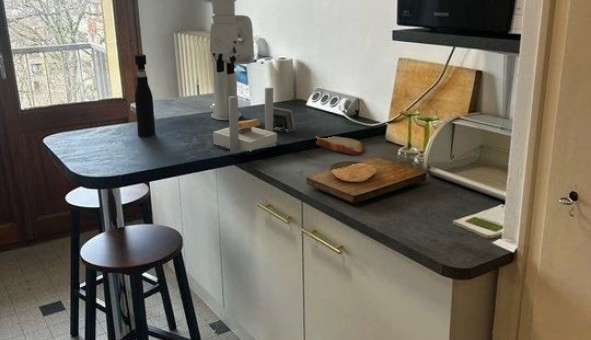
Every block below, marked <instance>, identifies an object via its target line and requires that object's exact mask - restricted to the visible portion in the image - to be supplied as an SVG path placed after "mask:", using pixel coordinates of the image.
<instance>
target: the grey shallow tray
mask: <svg viewBox="0 0 591 340" xmlns="http://www.w3.org/2000/svg"><path fill="white" fill-rule="evenodd" d="M238 134H239V149H242V150H247V151H250V152H251V151H252V150H254V149H257V148H260V147H263V146H266V145H269V144H271V143H274V142H276V141H277V142H278V133H277V132H275V131H273V132H271V131H267V130H265V129H263V128H258V127H256V126H255V127H251V128H243V129H238ZM212 136H213V138H212V140H213V145H214V144H216V145H221V146H226V147H230V129H229V127H225V128H222V129H219V130H216V131H213V132H212Z"/></svg>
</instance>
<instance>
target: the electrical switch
mask: <svg viewBox="0 0 591 340" xmlns="http://www.w3.org/2000/svg"><path fill="white" fill-rule="evenodd" d="M293 114H294V113H293V111H292V110H291V109H289V108H288V109H287V108H282V107H277V106H273V128H275V127H279V128H283V127H284V129H288V131H289V130H291V129H295V130H296V125H295V120H294V115H293Z"/></svg>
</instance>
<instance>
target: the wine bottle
mask: <svg viewBox="0 0 591 340" xmlns="http://www.w3.org/2000/svg"><path fill="white" fill-rule="evenodd" d="M134 62H135V63H134V64H135V65H136V66H137V72H136V75H137V76H136V84H137V85H136V88H135V91H134V92H135V93H134V104H135V115H136V125H137V128H136V129H137V136H138V137H139V138H151V137H155V136H156V123H155V121H156V120H155V111H154V99H153V93H152V90H151V88H150V85H149V81H148V76H147V71H146V65H147V54H142V53H139V54H135V55H134Z"/></svg>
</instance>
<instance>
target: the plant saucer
mask: <svg viewBox="0 0 591 340" xmlns="http://www.w3.org/2000/svg"><path fill="white" fill-rule="evenodd" d="M357 163H364V162H362V161H353V160H351V161H350V160H346V161H344V160H343V161H338V162H335V163H332V164H331V165H330V166H329V168H328V169H329V172H330V171H331V170H333V169H337V168H342V167H346V166H349V165H352V164H357Z"/></svg>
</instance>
